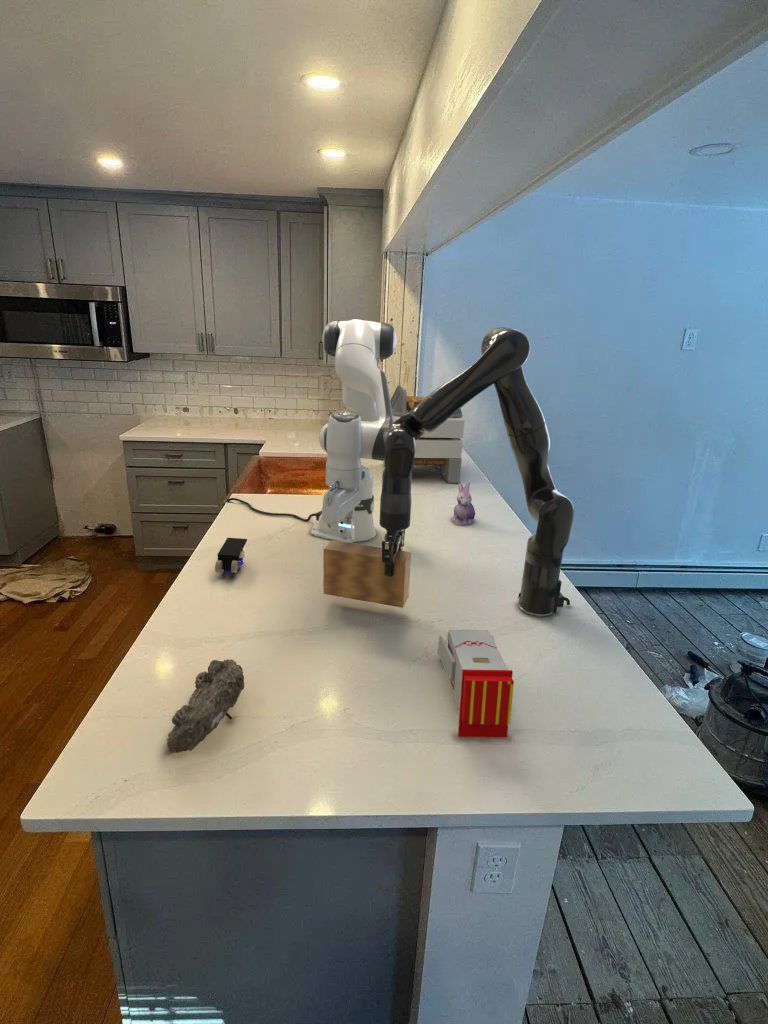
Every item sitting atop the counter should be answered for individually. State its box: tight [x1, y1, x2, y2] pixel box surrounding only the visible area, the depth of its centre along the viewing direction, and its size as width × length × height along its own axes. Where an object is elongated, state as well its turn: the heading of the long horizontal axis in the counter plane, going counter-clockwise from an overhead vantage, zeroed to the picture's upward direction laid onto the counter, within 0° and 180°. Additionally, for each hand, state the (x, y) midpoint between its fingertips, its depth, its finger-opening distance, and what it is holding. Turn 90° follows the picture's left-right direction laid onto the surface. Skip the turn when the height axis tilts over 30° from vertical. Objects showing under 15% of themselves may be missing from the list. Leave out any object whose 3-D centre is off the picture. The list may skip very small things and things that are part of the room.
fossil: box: [166, 658, 245, 754], centre depth 106 cm, size 22×10×15 cm
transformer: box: [383, 384, 465, 484], centre depth 268 cm, size 34×33×41 cm
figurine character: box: [214, 537, 248, 578], centre depth 166 cm, size 7×8×15 cm
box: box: [322, 540, 412, 609], centre depth 146 cm, size 21×6×13 cm, turn 74°
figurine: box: [452, 481, 476, 526], centre depth 212 cm, size 9×10×15 cm
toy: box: [437, 628, 515, 738], centre depth 117 cm, size 12×13×30 cm
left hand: (342, 529), depth 146 cm, fingers open, 8 cm apart
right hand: (392, 570), depth 143 cm, fingers closed on box, 6 cm apart
